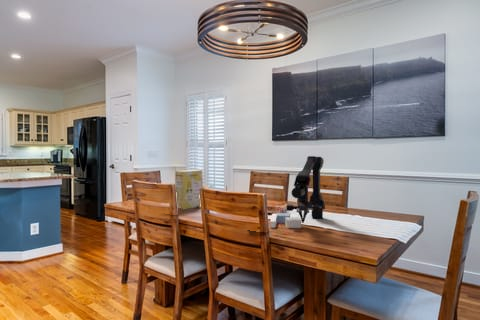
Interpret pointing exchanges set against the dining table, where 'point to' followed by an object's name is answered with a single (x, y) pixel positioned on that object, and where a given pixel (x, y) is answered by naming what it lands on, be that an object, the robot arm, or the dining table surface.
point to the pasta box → (188, 188)
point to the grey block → (293, 222)
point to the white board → (273, 221)
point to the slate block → (282, 217)
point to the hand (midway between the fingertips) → (302, 222)
